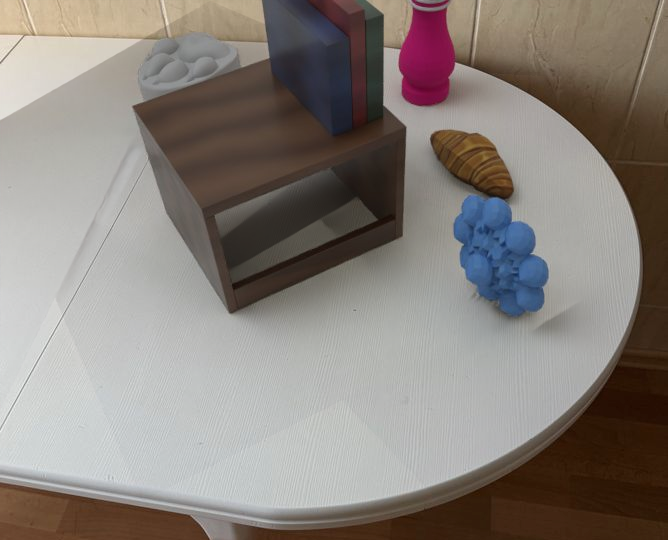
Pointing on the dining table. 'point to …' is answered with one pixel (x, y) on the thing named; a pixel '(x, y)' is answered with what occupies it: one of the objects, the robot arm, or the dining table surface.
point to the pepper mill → (427, 54)
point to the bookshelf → (283, 139)
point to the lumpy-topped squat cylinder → (185, 63)
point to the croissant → (473, 161)
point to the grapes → (500, 255)
